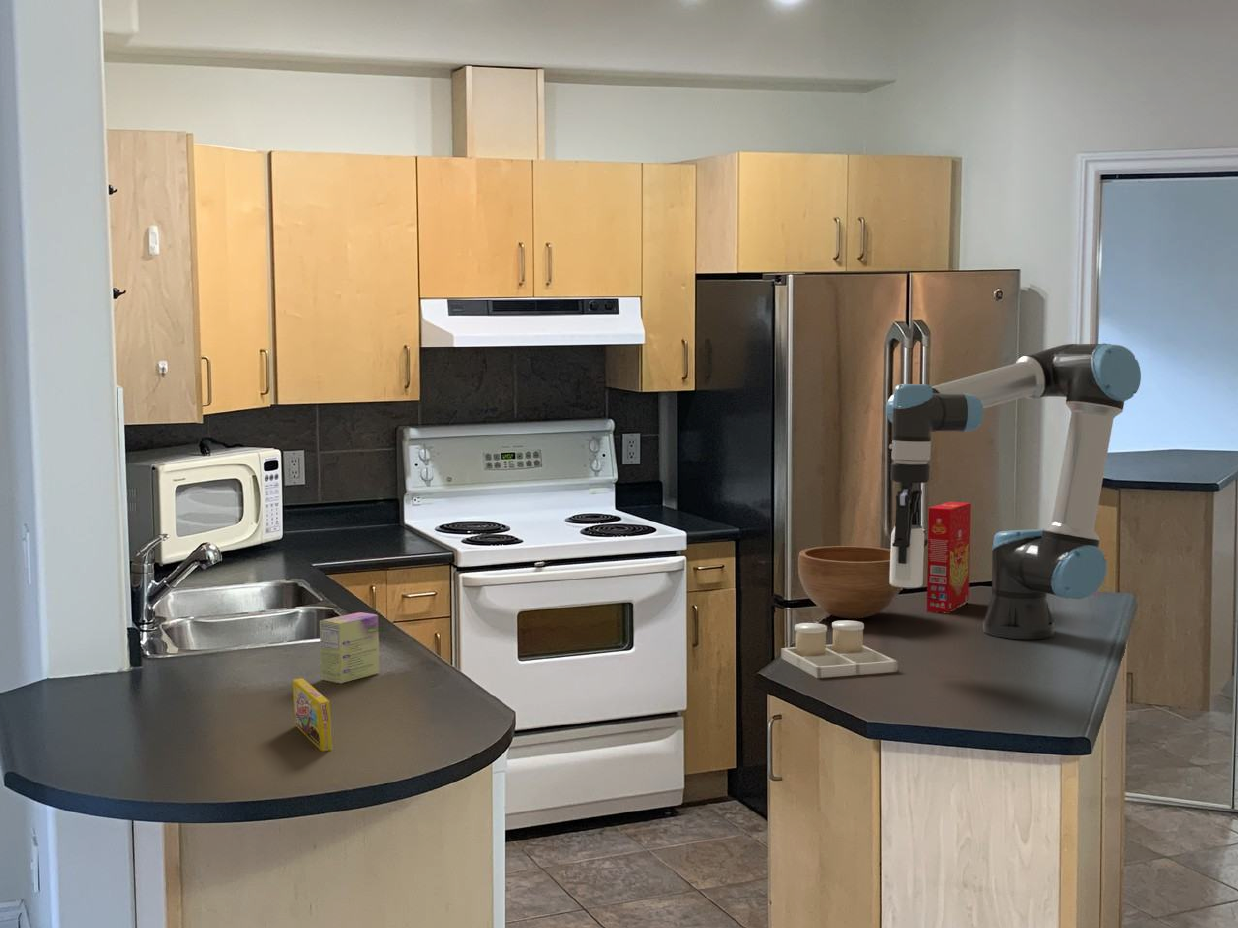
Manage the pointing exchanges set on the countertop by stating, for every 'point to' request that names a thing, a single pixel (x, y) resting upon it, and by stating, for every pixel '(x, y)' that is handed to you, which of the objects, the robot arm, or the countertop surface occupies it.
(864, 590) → the bowl
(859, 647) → the paper cup
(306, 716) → the candy box
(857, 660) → the carrier
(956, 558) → the food packaging
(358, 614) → the box
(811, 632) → the paper cup
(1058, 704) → the countertop surface
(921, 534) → the can
